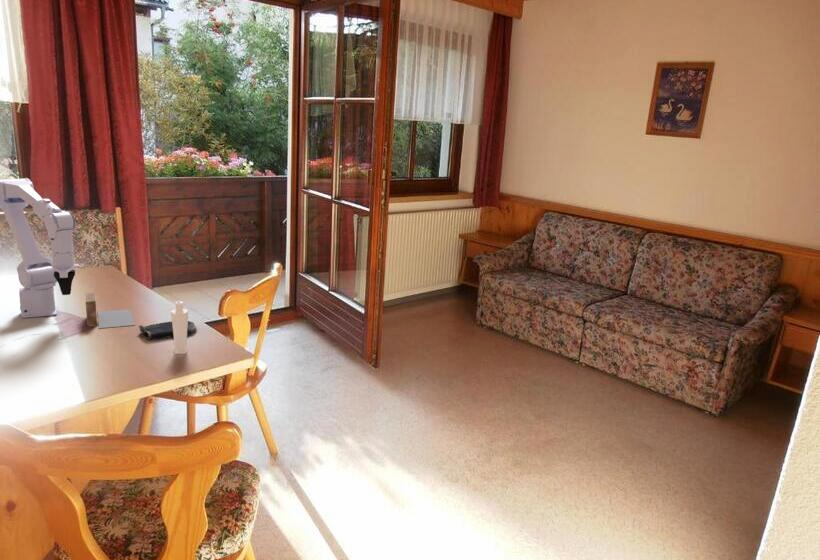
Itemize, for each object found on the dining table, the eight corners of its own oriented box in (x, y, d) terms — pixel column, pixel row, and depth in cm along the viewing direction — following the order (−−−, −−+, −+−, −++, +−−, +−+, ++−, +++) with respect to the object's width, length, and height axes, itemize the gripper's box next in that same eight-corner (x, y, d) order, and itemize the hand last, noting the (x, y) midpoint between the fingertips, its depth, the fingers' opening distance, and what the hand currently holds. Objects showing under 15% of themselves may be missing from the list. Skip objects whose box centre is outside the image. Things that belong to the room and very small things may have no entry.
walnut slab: (87, 326, 178) (85, 301, 176) (87, 317, 186) (85, 293, 183) (97, 325, 179) (95, 301, 177) (96, 316, 187) (94, 292, 185)
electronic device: (151, 348, 170) (201, 332, 179) (146, 330, 168) (197, 315, 178) (141, 342, 177) (190, 326, 186) (137, 324, 175) (186, 310, 185)
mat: (99, 328, 177) (99, 328, 177) (97, 312, 190) (97, 311, 190) (134, 325, 181) (134, 324, 181) (131, 309, 195) (131, 309, 195)
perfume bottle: (179, 356, 162) (177, 305, 158) (169, 352, 164) (167, 302, 160) (192, 351, 166) (191, 302, 162) (183, 347, 168) (181, 298, 164)
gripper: (77, 256, 169) (81, 300, 173) (78, 245, 181) (81, 286, 185) (49, 257, 166) (53, 302, 169) (51, 246, 178) (55, 288, 181)
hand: (66, 294), depth 177 cm, fingers closed
